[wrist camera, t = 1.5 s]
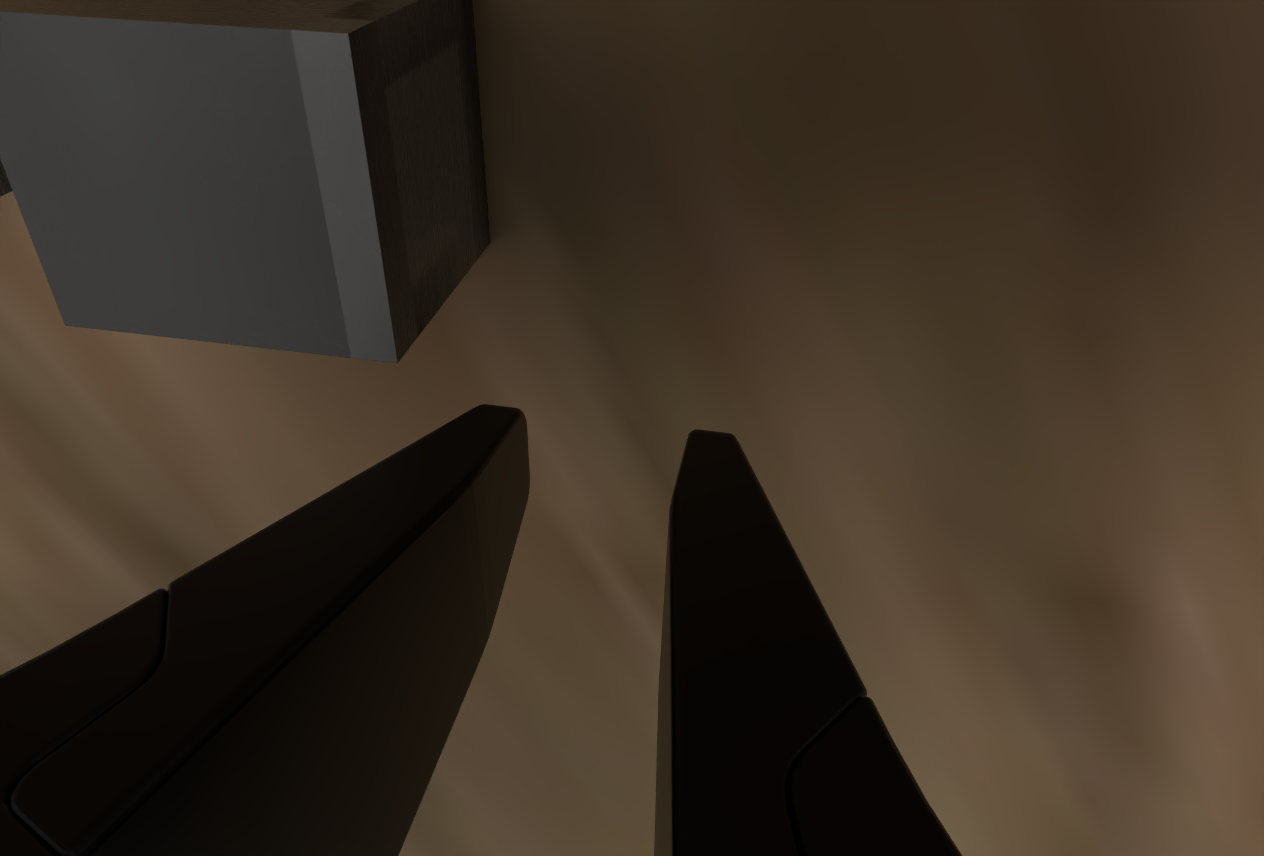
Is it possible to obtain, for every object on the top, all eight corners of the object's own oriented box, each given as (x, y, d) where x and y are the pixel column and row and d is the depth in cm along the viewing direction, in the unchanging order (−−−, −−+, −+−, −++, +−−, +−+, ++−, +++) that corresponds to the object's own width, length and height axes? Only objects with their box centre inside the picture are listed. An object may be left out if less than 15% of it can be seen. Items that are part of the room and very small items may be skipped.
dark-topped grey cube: (490, 242, 19) (397, 362, 14) (223, 217, 19) (65, 325, 15) (470, -25, 16) (347, 33, 12) (158, -41, 16) (-59, 8, 12)
